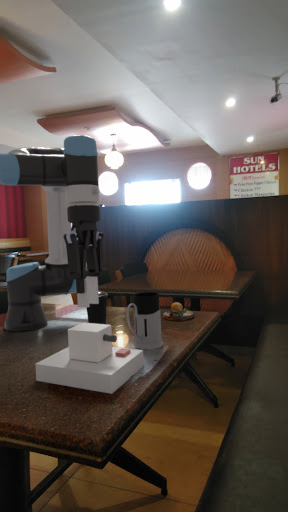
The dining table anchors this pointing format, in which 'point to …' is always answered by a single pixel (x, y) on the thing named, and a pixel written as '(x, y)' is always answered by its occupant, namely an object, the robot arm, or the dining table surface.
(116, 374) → the socket
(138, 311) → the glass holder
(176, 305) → the burger
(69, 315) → the dining table surface
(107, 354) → the plug
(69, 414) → the dining table surface
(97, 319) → the drinking cup
